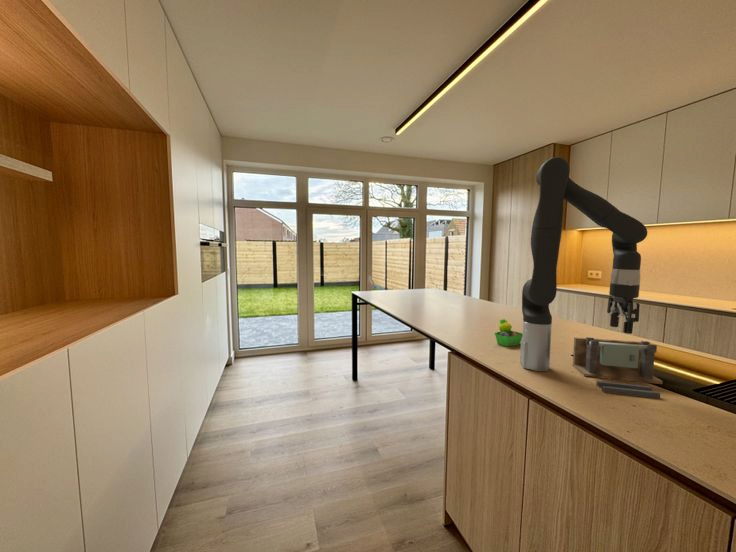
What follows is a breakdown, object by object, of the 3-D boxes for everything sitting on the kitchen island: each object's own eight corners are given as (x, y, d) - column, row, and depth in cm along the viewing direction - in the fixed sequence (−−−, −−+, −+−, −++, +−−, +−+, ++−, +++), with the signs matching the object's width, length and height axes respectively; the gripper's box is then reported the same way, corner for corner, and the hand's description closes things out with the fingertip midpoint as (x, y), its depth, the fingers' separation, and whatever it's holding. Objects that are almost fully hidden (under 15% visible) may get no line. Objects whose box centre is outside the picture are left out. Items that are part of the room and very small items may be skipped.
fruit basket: (506, 348, 132) (507, 323, 131) (491, 342, 140) (491, 319, 139) (524, 344, 136) (525, 320, 135) (508, 339, 144) (509, 317, 144)
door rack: (603, 392, 90) (604, 387, 90) (596, 385, 95) (596, 380, 95) (660, 398, 86) (660, 393, 86) (649, 390, 91) (649, 386, 91)
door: (591, 364, 101) (592, 342, 101) (587, 361, 104) (589, 340, 103) (655, 370, 96) (657, 347, 96) (649, 367, 99) (651, 344, 98)
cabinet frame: (583, 376, 101) (585, 340, 100) (572, 365, 111) (574, 333, 110) (662, 384, 95) (665, 346, 94) (643, 372, 105) (646, 337, 104)
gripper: (601, 280, 106) (597, 324, 107) (622, 284, 92) (618, 334, 94) (626, 281, 104) (622, 325, 105) (652, 285, 90) (647, 336, 92)
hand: (620, 329), depth 100 cm, fingers open, 8 cm apart
